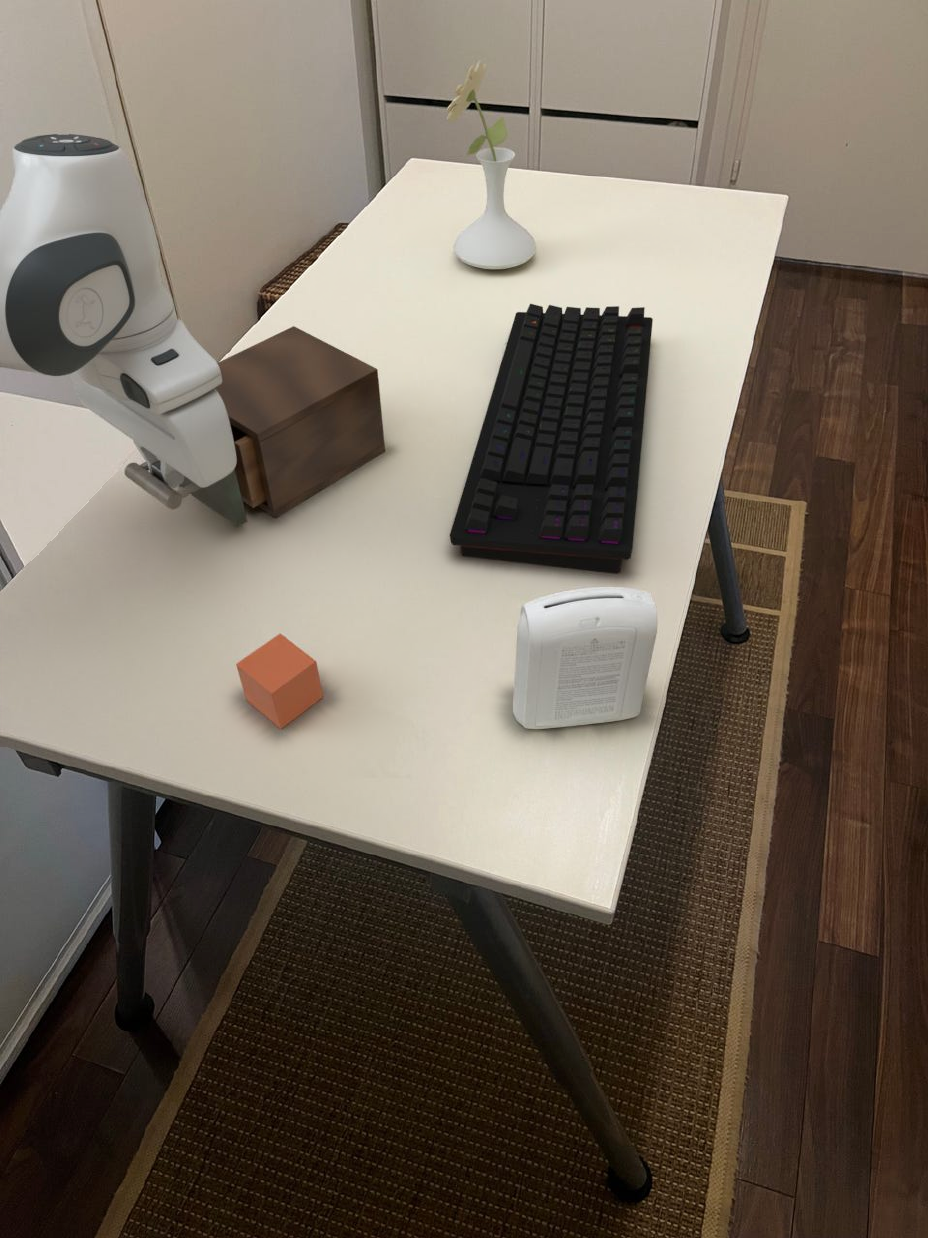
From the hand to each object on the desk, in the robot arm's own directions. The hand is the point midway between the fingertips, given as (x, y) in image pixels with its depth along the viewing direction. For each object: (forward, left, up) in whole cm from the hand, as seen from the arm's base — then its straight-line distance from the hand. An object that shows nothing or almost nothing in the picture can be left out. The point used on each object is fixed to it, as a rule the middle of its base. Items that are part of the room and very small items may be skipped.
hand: (168, 479), depth 86 cm
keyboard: (+40, +2, -5) cm, 41 cm away
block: (+6, -25, -5) cm, 26 cm away
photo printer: (+28, -33, -5) cm, 44 cm away
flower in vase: (+46, +44, -5) cm, 64 cm away
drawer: (+6, +3, -4) cm, 8 cm away
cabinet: (+12, +7, -5) cm, 15 cm away
